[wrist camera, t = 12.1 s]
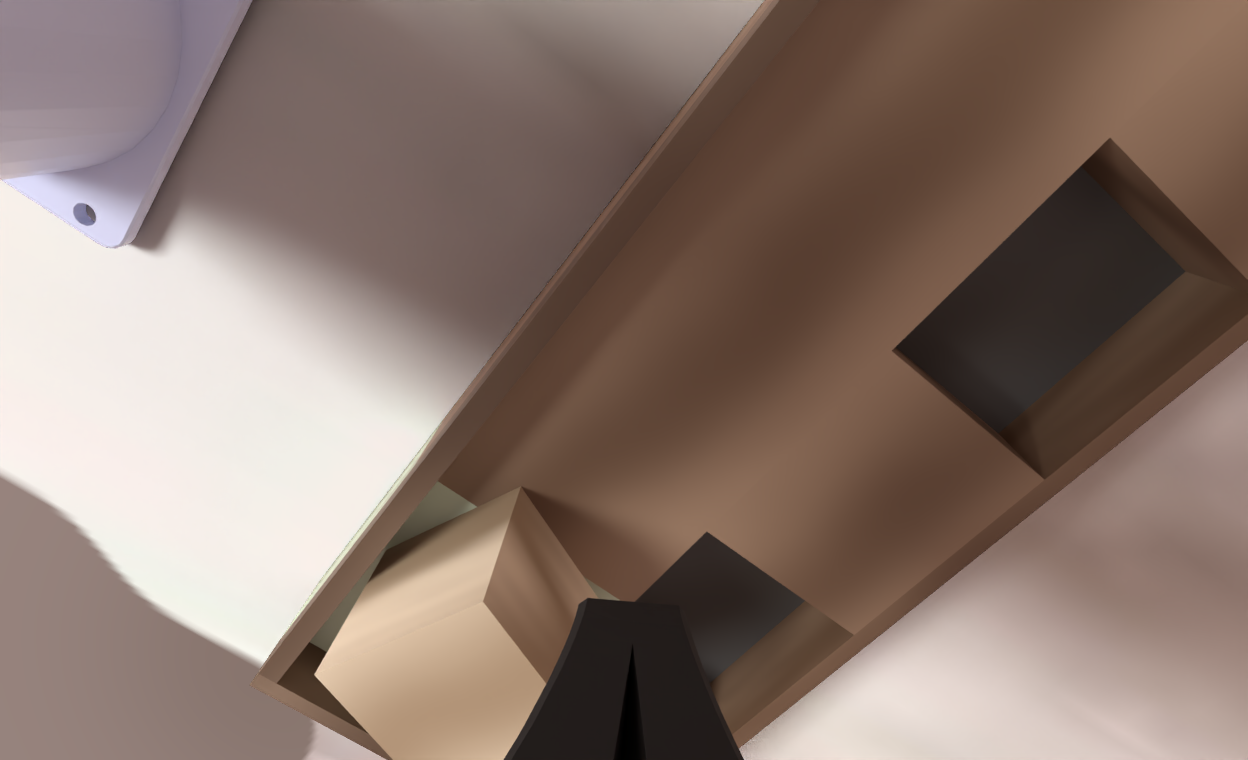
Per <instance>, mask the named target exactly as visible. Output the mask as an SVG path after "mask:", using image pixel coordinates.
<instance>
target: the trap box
mask: <svg viewBox="0 0 1248 760" xmlns="http://www.w3.org/2000/svg"><path fill="white" fill-rule="evenodd" d="M1247 340H1248V0H764V2H763V3H762V4H761V6H760V7H759V8H758V10H757V11H756V12H755V13H754V15H753V16H752V17H751V19H750V20H749V21H748V23H747V24H746V25H745V27H744V28H743V29H742V30H741V32H740V33H739V34H738V36H737V37H736V38H735V40H734V41H733V42H732V43H731V45H730V46H729V47H728V49H727V50H726V51H725V53H724V54H723V55H722V57H721V58H720V59H719V60H718V62H717V63H716V64H715V66H714V67H713V68H712V70H711V71H710V72H709V73H708V75H707V76H706V77H705V79H704V80H703V81H702V83H701V84H700V85H699V87H698V88H697V89H696V90H695V92H694V93H693V94H692V96H691V97H690V98H689V100H688V101H687V102H686V104H685V105H684V106H683V107H682V109H681V110H680V111H679V113H678V114H677V115H676V117H675V118H674V119H673V120H672V122H671V123H670V124H669V126H668V127H667V128H666V130H665V131H664V132H663V134H662V135H661V136H660V137H659V139H658V140H657V141H656V143H655V144H654V145H653V147H652V148H651V149H650V151H649V152H648V153H647V154H646V156H645V157H644V158H643V160H642V161H641V162H640V164H639V165H638V166H637V167H636V169H635V170H634V171H633V173H632V174H631V175H630V177H629V178H628V179H627V181H626V182H625V183H624V184H623V186H622V187H621V188H620V190H619V191H618V192H617V194H616V195H615V196H614V198H613V199H612V200H611V201H610V203H609V204H608V205H607V207H606V208H605V209H604V211H603V212H602V213H601V214H600V216H599V217H598V218H597V220H596V221H595V222H594V224H593V225H592V226H591V228H590V229H589V230H588V231H587V233H586V234H585V235H584V237H583V238H582V239H581V241H580V242H579V243H578V244H577V246H576V247H575V248H574V250H573V251H572V252H571V254H570V255H569V256H568V258H567V259H566V260H565V261H564V263H563V264H562V265H561V267H560V268H559V269H558V271H557V272H556V273H555V275H554V276H553V277H552V278H551V280H550V281H549V282H548V284H547V285H546V286H545V288H544V289H543V290H542V291H541V293H540V294H539V295H538V297H537V298H536V299H535V301H534V302H533V303H532V305H531V306H530V307H529V308H528V310H527V311H526V312H525V314H524V315H523V316H522V318H521V319H520V320H519V322H518V323H517V324H516V325H515V327H514V328H513V329H512V331H511V332H510V333H509V335H508V336H507V337H506V338H505V340H504V341H503V342H502V344H501V345H500V346H499V348H498V349H497V350H496V352H495V353H494V354H493V355H492V357H491V358H490V359H489V361H488V362H487V363H486V365H485V366H484V367H483V368H482V370H481V371H480V372H479V374H478V375H477V376H476V378H475V379H474V380H473V382H472V383H471V384H470V385H469V387H468V388H467V389H466V391H465V392H464V393H463V395H462V396H461V397H460V399H459V400H458V401H457V402H456V404H455V405H454V406H453V408H452V409H451V410H450V412H449V413H448V414H447V415H446V417H445V418H444V419H443V421H442V422H441V423H440V425H439V426H438V427H437V429H436V430H435V431H434V432H433V434H432V435H431V436H430V438H429V439H428V440H427V442H426V443H425V444H424V446H423V447H422V448H421V449H420V451H419V452H418V453H417V455H416V456H415V457H414V459H413V460H412V461H411V462H410V464H409V465H408V466H407V468H406V469H405V470H404V472H403V473H402V474H401V476H400V477H399V478H398V479H397V481H396V482H395V483H394V485H393V486H392V487H391V489H390V490H389V491H388V492H387V494H386V495H385V496H384V498H383V499H382V500H381V502H380V503H379V504H378V506H377V507H376V508H375V509H374V511H373V512H372V513H371V515H370V516H369V517H368V519H367V520H366V521H365V523H364V524H363V525H362V526H361V528H360V529H359V530H358V532H357V533H356V534H355V536H354V537H353V538H352V539H351V541H350V542H349V543H348V545H347V546H346V547H345V549H344V550H343V551H342V553H341V554H340V555H339V556H338V558H337V559H336V560H335V562H334V563H333V564H332V566H331V567H330V568H329V570H328V571H327V572H326V573H325V575H324V576H323V577H322V579H321V580H320V581H319V583H318V584H317V586H316V587H315V589H314V590H313V592H312V593H311V595H310V596H309V598H308V599H307V601H306V602H305V604H304V605H303V607H302V608H301V610H300V611H299V613H298V614H297V615H296V617H295V618H294V620H293V621H292V623H291V624H290V626H289V627H288V629H287V630H286V632H285V633H284V635H283V636H282V638H281V639H280V641H279V642H278V644H277V645H276V647H275V648H274V650H273V651H272V653H271V654H270V655H269V657H268V658H267V660H266V661H265V663H264V664H263V666H262V667H261V669H260V670H259V672H258V673H257V675H256V676H255V678H254V679H253V681H252V682H251V684H250V686H252V687H254V688H256V689H257V690H259V691H261V692H263V693H265V694H267V695H269V696H270V697H272V698H274V699H276V700H278V701H280V702H282V703H283V704H285V705H287V706H289V707H291V708H293V709H294V710H296V711H298V712H300V713H302V714H304V715H305V716H307V717H309V718H311V719H313V720H315V721H317V722H318V723H320V724H322V725H324V726H326V727H328V728H330V729H331V730H333V731H335V732H337V733H339V734H341V735H342V736H344V737H346V738H348V739H350V740H352V741H354V742H355V743H357V744H359V745H361V746H363V747H365V748H366V749H368V750H370V751H372V752H374V753H376V754H378V755H379V756H381V757H383V758H385V759H387V760H393V759H392V758H391V757H390V756H389V755H388V754H387V753H386V752H385V751H384V750H383V748H382V747H381V746H380V745H379V744H378V743H377V742H376V741H375V740H374V739H373V738H372V737H371V736H370V734H369V733H368V732H367V731H366V730H365V729H364V728H363V727H362V726H361V725H360V724H359V723H358V722H357V720H356V719H355V718H354V717H353V716H352V715H351V714H350V713H349V712H348V711H347V710H346V709H345V708H344V706H343V705H342V704H341V703H340V702H339V701H338V700H337V699H336V698H335V697H334V696H333V695H332V694H331V692H330V691H329V690H328V689H327V688H326V687H325V686H324V685H323V684H322V683H321V682H320V681H319V680H318V678H317V677H316V676H315V675H314V674H315V673H316V671H317V669H318V667H319V666H320V664H321V662H322V660H323V659H324V657H325V655H326V653H327V652H328V650H329V648H330V646H331V645H332V643H333V641H334V640H335V638H336V636H337V634H338V633H339V631H340V629H341V627H342V626H343V624H344V622H345V620H346V619H347V617H348V615H349V614H350V612H351V610H352V608H353V607H354V605H355V603H356V601H357V600H358V598H359V596H360V594H361V593H362V591H363V589H364V588H365V586H366V584H367V582H368V581H369V579H370V577H371V575H372V574H373V572H374V570H375V568H376V567H377V565H378V563H379V562H380V560H381V558H382V556H383V555H384V553H385V551H386V550H387V549H389V548H391V547H393V546H396V545H398V544H400V543H402V542H404V541H406V540H408V539H410V538H412V537H415V536H417V535H419V534H421V533H423V532H425V531H427V530H429V529H432V528H434V527H436V526H438V525H440V524H442V523H444V522H446V521H449V520H451V519H453V518H455V517H457V516H459V515H461V514H463V513H466V512H468V511H470V510H472V509H474V508H476V507H478V506H480V505H483V504H485V503H487V502H489V501H491V500H493V499H495V498H497V497H499V496H502V495H504V494H506V493H508V492H510V491H512V490H514V489H516V488H519V487H522V489H523V490H524V492H525V493H526V495H527V496H528V497H529V499H530V500H531V502H532V503H533V505H534V506H535V507H536V509H537V510H538V512H539V513H540V515H541V516H542V518H543V519H544V520H545V522H546V523H547V525H548V526H549V528H550V529H551V531H552V532H553V533H554V535H555V536H556V538H557V539H558V541H559V542H560V544H561V545H562V546H563V548H564V549H565V551H566V552H567V554H568V555H569V557H570V558H571V559H572V561H573V562H574V564H575V565H576V567H577V568H578V570H579V571H580V572H581V574H582V575H583V577H584V578H585V580H586V581H587V583H588V584H589V585H590V587H591V588H592V590H593V591H594V593H595V594H596V595H597V597H598V598H599V599H607V600H619V601H631V602H643V603H654V604H666V605H678V606H680V608H681V609H682V610H683V611H684V612H685V613H686V616H687V620H688V624H689V628H690V631H691V634H692V637H693V640H694V643H695V646H696V649H697V652H698V655H699V658H700V660H701V663H702V666H703V668H704V671H705V673H706V676H707V678H708V681H709V683H710V686H711V688H712V691H713V693H714V696H715V698H716V700H717V703H718V705H719V707H720V710H721V712H722V714H723V716H724V718H725V721H726V723H727V725H728V727H729V729H730V731H731V733H732V736H733V738H734V740H735V742H736V744H737V746H738V748H740V747H741V746H742V745H744V744H745V743H746V742H747V741H749V740H750V739H751V738H752V737H754V736H755V735H756V734H757V733H759V732H760V731H761V730H762V729H764V728H765V727H766V726H767V725H769V724H770V723H771V722H772V721H774V720H775V719H776V718H777V717H779V716H780V715H781V714H782V713H784V712H785V711H786V710H787V709H789V708H790V707H791V706H792V705H794V704H795V703H796V702H797V701H798V700H800V699H801V698H802V697H803V696H805V695H806V694H807V693H808V692H810V691H811V690H812V689H813V688H815V687H816V686H817V685H818V684H820V683H821V682H822V681H823V680H825V679H826V678H827V677H828V676H830V675H831V674H832V673H833V672H835V671H836V670H837V669H838V668H840V667H841V666H842V665H843V664H845V663H846V662H847V661H848V660H850V659H851V658H852V657H853V656H855V655H856V654H857V653H858V652H860V651H861V650H862V649H863V648H865V647H866V646H867V645H868V644H870V643H871V642H872V641H873V640H875V639H876V638H877V637H878V636H880V635H881V634H882V633H883V632H885V631H886V630H887V629H888V628H890V627H891V626H892V625H893V624H895V623H896V622H897V621H898V620H900V619H901V618H902V617H903V616H904V615H906V614H907V613H908V612H909V611H911V610H912V609H913V608H914V607H916V606H917V605H918V604H919V603H921V602H922V601H923V600H924V599H926V598H927V597H928V596H929V595H931V594H932V593H933V592H934V591H936V590H937V589H938V588H939V587H941V586H942V585H943V584H944V583H946V582H947V581H948V580H949V579H951V578H952V577H953V576H954V575H956V574H957V573H958V572H959V571H961V570H962V569H963V568H964V567H966V566H967V565H968V564H969V563H971V562H972V561H973V560H974V559H976V558H977V557H978V556H979V555H981V554H982V553H983V552H984V551H986V550H987V549H988V548H989V547H991V546H992V545H993V544H994V543H996V542H997V541H998V540H999V539H1001V538H1002V537H1003V536H1004V535H1006V534H1007V533H1008V532H1009V531H1011V530H1012V529H1013V528H1014V527H1015V526H1017V525H1018V524H1019V523H1020V522H1022V521H1023V520H1024V519H1025V518H1027V517H1028V516H1029V515H1030V514H1032V513H1033V512H1034V511H1035V510H1037V509H1038V508H1039V507H1040V506H1042V505H1043V504H1044V503H1045V502H1047V501H1048V500H1049V499H1050V498H1052V497H1053V496H1054V495H1055V494H1057V493H1058V492H1059V491H1060V490H1062V489H1063V488H1064V487H1065V486H1067V485H1068V484H1069V483H1070V482H1072V481H1073V480H1074V479H1075V478H1077V477H1078V476H1079V475H1080V474H1082V473H1083V472H1084V471H1085V470H1087V469H1088V468H1089V467H1090V466H1092V465H1093V464H1094V463H1095V462H1097V461H1098V460H1099V459H1100V458H1102V457H1103V456H1104V455H1105V454H1107V453H1108V452H1109V451H1110V450H1112V449H1113V448H1114V447H1115V446H1117V445H1118V444H1119V443H1120V442H1121V441H1123V440H1124V439H1125V438H1126V437H1128V436H1129V435H1130V434H1131V433H1133V432H1134V431H1135V430H1136V429H1138V428H1139V427H1140V426H1141V425H1143V424H1144V423H1145V422H1146V421H1148V420H1149V419H1150V418H1151V417H1153V416H1154V415H1155V414H1156V413H1158V412H1159V411H1160V410H1161V409H1163V408H1164V407H1165V406H1166V405H1168V404H1169V403H1170V402H1171V401H1173V400H1174V399H1175V398H1176V397H1178V396H1179V395H1180V394H1181V393H1183V392H1184V391H1185V390H1186V389H1188V388H1189V387H1190V386H1191V385H1193V384H1194V383H1195V382H1196V381H1198V380H1199V379H1200V378H1201V377H1203V376H1204V375H1205V374H1206V373H1208V372H1209V371H1210V370H1211V369H1213V368H1214V367H1215V366H1216V365H1218V364H1219V363H1220V362H1221V361H1223V360H1224V359H1225V358H1226V357H1228V356H1229V355H1230V354H1231V353H1232V352H1234V351H1235V350H1236V349H1237V348H1239V347H1240V346H1241V345H1242V344H1244V343H1245V342H1246V341H1247Z"/></svg>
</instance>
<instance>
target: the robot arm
mask: <svg viewBox="0 0 1248 760" xmlns="http://www.w3.org/2000/svg"><path fill="white" fill-rule="evenodd" d="M251 2H252V0H0V180H2V181H4V182H5V183H7V184H8V185H10V186H11V187H13V188H14V189H16V190H17V191H19V192H20V193H22V194H23V195H25V196H26V197H28V198H30V199H31V200H33V201H34V202H36V203H37V204H39V205H40V206H42V207H43V208H45V209H46V210H48V211H49V212H51V213H52V214H54V215H55V216H57V217H58V218H60V219H61V220H63V221H64V222H66V223H67V224H69V225H71V226H72V227H74V228H75V229H77V230H78V231H80V232H81V233H83V234H84V235H86V236H87V237H89V238H90V239H92V240H93V241H95V242H96V243H98V244H100V245H102V246H104V247H106V248H118V247H121V246H124V245H127V244H130V243H131V242H132V241H133V240H134V239H135V237H136V235H137V233H138V231H139V229H140V227H141V225H142V223H143V221H144V219H145V217H146V215H147V213H148V211H149V209H150V207H151V205H152V203H153V201H154V199H155V196H156V194H157V192H158V190H159V188H160V186H161V184H162V182H163V180H164V178H165V176H166V174H167V172H168V170H169V168H170V166H171V164H172V162H173V160H174V158H175V156H176V154H177V152H178V150H179V148H180V146H181V144H182V142H183V140H184V138H185V136H186V134H187V132H188V130H189V128H190V126H191V124H192V122H193V120H194V118H195V116H196V114H197V112H198V110H199V108H200V106H201V103H202V101H203V99H204V97H205V95H206V93H207V91H208V89H209V87H210V85H211V83H212V81H213V79H214V77H215V75H216V73H217V71H218V69H219V67H220V65H221V63H222V61H223V59H224V57H225V55H226V53H227V51H228V49H229V47H230V45H231V43H232V41H233V39H234V37H235V35H236V33H237V31H238V29H239V27H240V25H241V23H242V21H243V19H244V17H245V15H246V13H247V10H248V8H249V6H250V4H251ZM86 205H89V206H90V207H91V208H92V209H93V210H94V212H95V214H96V222H95V221H93V220H92V219H91V218H90V217H89V216H88V214H87V211H86ZM504 760H744V759H743V757H742V755H741V753H740V751H739V748H738V746H737V744H736V742H735V740H734V738H733V736H732V733H731V731H730V729H729V727H728V725H727V723H726V721H725V718H724V716H723V714H722V712H721V710H720V707H719V705H718V703H717V700H716V698H715V696H714V693H713V691H712V688H711V686H710V683H709V681H708V678H707V676H706V673H705V671H704V668H703V666H702V663H701V660H700V658H699V655H698V652H697V649H696V646H695V643H694V640H693V637H692V634H691V631H690V628H689V624H688V620H687V616H686V613H685V612H684V611H683V610H682V609H681V608H680V606H678V605H666V604H654V603H643V602H631V601H619V600H607V599H595V598H587V599H585V600H584V601H582V602H581V603H579V605H578V609H577V612H576V616H575V619H574V622H573V625H572V628H571V630H570V633H569V636H568V638H567V641H566V643H565V645H564V648H563V650H562V652H561V654H560V657H559V659H558V661H557V663H556V665H555V667H554V669H553V671H552V674H551V676H550V678H549V680H548V682H547V684H546V685H545V687H544V689H543V691H542V693H541V695H540V697H539V698H538V700H537V702H536V704H535V706H534V708H533V710H532V712H531V713H530V715H529V717H528V719H527V721H526V723H525V725H524V726H523V728H522V730H521V732H520V733H519V735H518V737H517V739H516V740H515V742H514V743H513V745H512V747H511V748H510V750H509V752H508V753H507V755H506V756H505V758H504Z"/></svg>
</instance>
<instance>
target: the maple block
mask: <svg viewBox="0 0 1248 760" xmlns="http://www.w3.org/2000/svg"><path fill="white" fill-rule="evenodd" d="M587 598H595V599H599V598H598V597H597V595H596V594H595V593H594V591H593V590H592V588H591V587H590V585H589V584H588V583H587V581H586V580H585V578H584V577H583V575H582V574H581V572H580V571H579V570H578V568H577V567H576V565H575V564H574V562H573V561H572V559H571V558H570V557H569V555H568V554H567V552H566V551H565V549H564V548H563V546H562V545H561V544H560V542H559V541H558V539H557V538H556V536H555V535H554V533H553V532H552V531H551V529H550V528H549V526H548V525H547V523H546V522H545V520H544V519H543V518H542V516H541V515H540V513H539V512H538V510H537V509H536V507H535V506H534V505H533V503H532V502H531V500H530V499H529V497H528V496H527V495H526V493H525V492H524V490H523V489H522V487H519V488H516V489H514V490H512V491H510V492H508V493H506V494H504V495H502V496H499V497H497V498H495V499H493V500H491V501H489V502H487V503H485V504H483V505H480V506H478V507H476V508H474V509H472V510H470V511H468V512H466V513H463V514H461V515H459V516H457V517H455V518H453V519H451V520H449V521H446V522H444V523H442V524H440V525H438V526H436V527H434V528H432V529H429V530H427V531H425V532H423V533H421V534H419V535H417V536H415V537H412V538H410V539H408V540H406V541H404V542H402V543H400V544H398V545H396V546H393V547H391V548H389V549H387V550H386V551H385V553H384V555H383V556H382V558H381V560H380V562H379V563H378V565H377V567H376V568H375V570H374V572H373V574H372V575H371V577H370V579H369V581H368V582H367V584H366V586H365V588H364V589H363V591H362V593H361V594H360V596H359V598H358V600H357V601H356V603H355V605H354V607H353V608H352V610H351V612H350V614H349V615H348V617H347V619H346V620H345V622H344V624H343V626H342V627H341V629H340V631H339V633H338V634H337V636H336V638H335V640H334V641H333V643H332V645H331V646H330V648H329V650H328V652H327V653H326V655H325V657H324V659H323V660H322V662H321V664H320V666H319V667H318V669H317V671H316V673H315V674H314V675H315V676H316V677H317V678H318V680H319V681H320V682H321V683H322V684H323V685H324V686H325V687H326V688H327V689H328V690H329V691H330V692H331V694H332V695H333V696H334V697H335V698H336V699H337V700H338V701H339V702H340V703H341V704H342V705H343V706H344V708H345V709H346V710H347V711H348V712H349V713H350V714H351V715H352V716H353V717H354V718H355V719H356V720H357V722H358V723H359V724H360V725H361V726H362V727H363V728H364V729H365V730H366V731H367V732H368V733H369V734H370V736H371V737H372V738H373V739H374V740H375V741H376V742H377V743H378V744H379V745H380V746H381V747H382V748H383V750H384V751H385V752H386V753H387V754H388V755H389V756H390V757H391V758H392V759H393V760H504V758H505V756H506V755H507V753H508V752H509V750H510V748H511V747H512V745H513V743H514V742H515V740H516V739H517V737H518V735H519V733H520V732H521V730H522V728H523V726H524V725H525V723H526V721H527V719H528V717H529V715H530V713H531V712H532V710H533V708H534V706H535V704H536V702H537V700H538V698H539V697H540V695H541V693H542V691H543V689H544V687H545V685H546V684H547V682H548V680H549V678H550V676H551V674H552V671H553V669H554V667H555V665H556V663H557V661H558V659H559V657H560V654H561V652H562V650H563V648H564V645H565V643H566V641H567V638H568V636H569V633H570V630H571V628H572V625H573V622H574V619H575V616H576V612H577V609H578V605H579V603H581V602H582V601H584V600H585V599H587Z"/></svg>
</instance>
